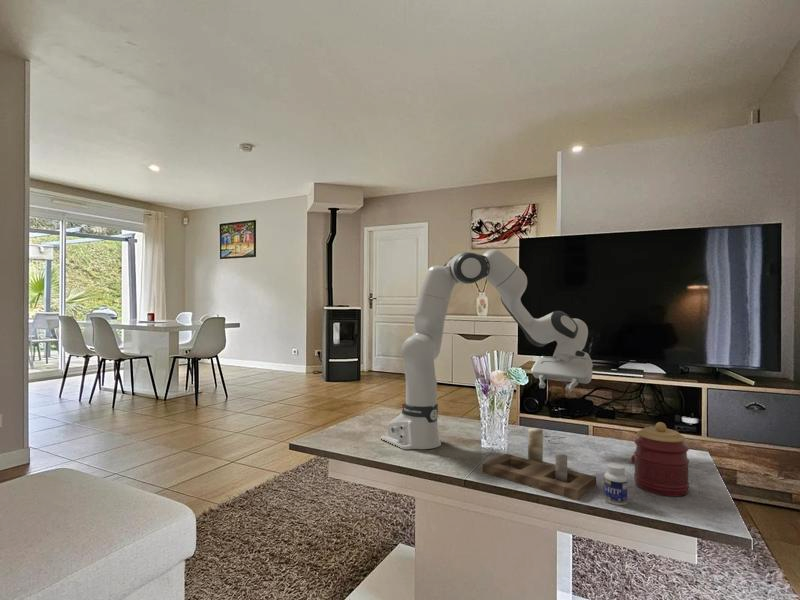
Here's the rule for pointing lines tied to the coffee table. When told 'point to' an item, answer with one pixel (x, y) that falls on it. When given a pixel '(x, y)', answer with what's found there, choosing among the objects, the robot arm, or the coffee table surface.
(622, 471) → the pill bottle
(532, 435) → the wooden peg
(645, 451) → the canister
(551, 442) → the scissors
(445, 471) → the coffee table surface
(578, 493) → the wooden peg holder
